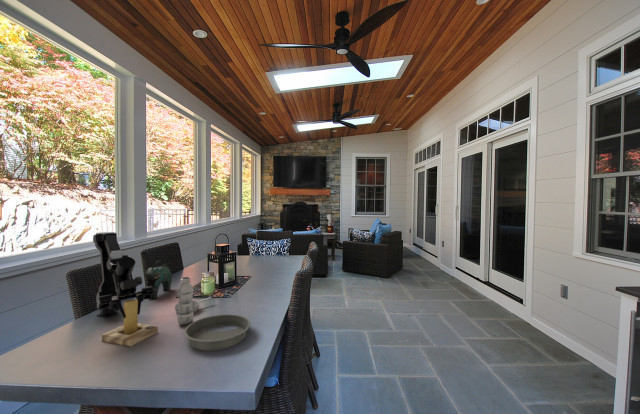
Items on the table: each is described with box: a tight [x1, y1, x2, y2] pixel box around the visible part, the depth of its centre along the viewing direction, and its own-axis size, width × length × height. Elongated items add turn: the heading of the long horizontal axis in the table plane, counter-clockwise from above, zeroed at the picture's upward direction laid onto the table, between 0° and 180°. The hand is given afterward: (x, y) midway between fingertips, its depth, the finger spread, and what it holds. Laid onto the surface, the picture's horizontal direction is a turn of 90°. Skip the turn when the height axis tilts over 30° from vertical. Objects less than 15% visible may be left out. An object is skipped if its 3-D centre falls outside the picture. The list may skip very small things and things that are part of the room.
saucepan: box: [174, 296, 212, 314], centre depth 139 cm, size 11×18×4 cm, turn 143°
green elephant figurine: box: [145, 260, 173, 300], centre depth 161 cm, size 20×6×20 cm, turn 179°
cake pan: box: [183, 313, 251, 352], centre depth 111 cm, size 25×25×4 cm
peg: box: [123, 298, 139, 335], centre depth 111 cm, size 5×5×12 cm
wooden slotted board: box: [101, 322, 159, 347], centre depth 111 cm, size 14×12×3 cm
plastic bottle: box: [176, 276, 195, 326], centre depth 123 cm, size 6×7×20 cm
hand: (131, 316), depth 110 cm, fingers closed on peg, 4 cm apart
